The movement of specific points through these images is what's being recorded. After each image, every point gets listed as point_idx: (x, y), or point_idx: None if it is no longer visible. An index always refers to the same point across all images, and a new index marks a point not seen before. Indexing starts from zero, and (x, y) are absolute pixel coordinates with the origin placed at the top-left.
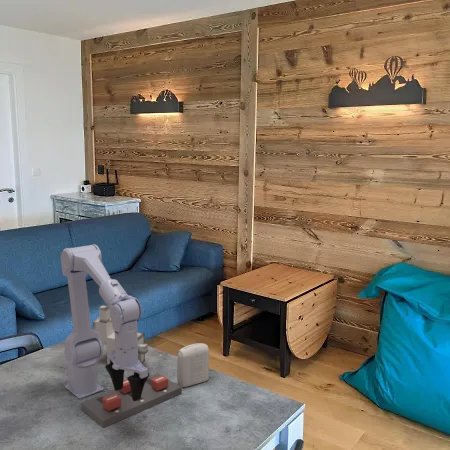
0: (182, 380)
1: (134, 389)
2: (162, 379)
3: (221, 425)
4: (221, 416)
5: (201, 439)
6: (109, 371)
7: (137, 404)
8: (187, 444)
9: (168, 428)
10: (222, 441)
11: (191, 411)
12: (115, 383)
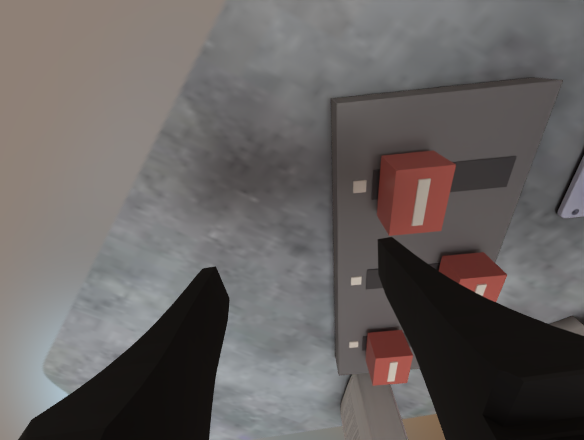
0: (362, 389)
1: (138, 341)
2: (382, 375)
3: None
4: None
5: (104, 308)
6: (501, 337)
7: (347, 261)
8: (92, 275)
9: (196, 272)
10: (77, 336)
11: (243, 341)
12: (400, 271)
